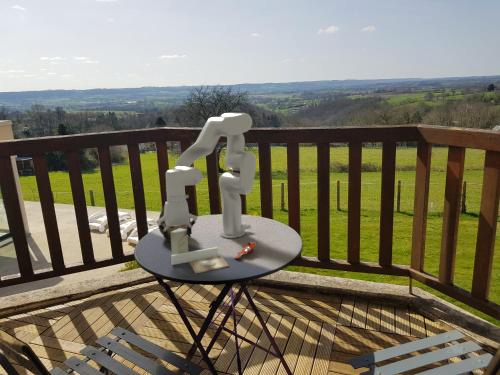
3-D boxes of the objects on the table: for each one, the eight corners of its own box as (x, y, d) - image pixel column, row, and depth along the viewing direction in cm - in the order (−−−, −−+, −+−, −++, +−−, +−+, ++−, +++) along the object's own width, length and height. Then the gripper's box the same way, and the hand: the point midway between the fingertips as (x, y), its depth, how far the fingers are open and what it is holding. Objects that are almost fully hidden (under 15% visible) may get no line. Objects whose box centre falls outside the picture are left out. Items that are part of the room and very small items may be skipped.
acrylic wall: (217, 255, 159) (216, 246, 158) (217, 256, 159) (217, 247, 158) (171, 264, 152) (170, 255, 151) (171, 265, 151) (171, 256, 150)
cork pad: (221, 257, 158) (221, 255, 157) (228, 266, 149) (228, 265, 148) (189, 263, 152) (189, 261, 152) (195, 273, 143) (195, 271, 143)
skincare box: (179, 260, 155) (177, 233, 152) (171, 258, 157) (169, 232, 154) (189, 255, 160) (187, 229, 157) (181, 253, 163) (179, 227, 160)
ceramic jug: (183, 245, 171) (178, 183, 163) (153, 242, 175) (148, 182, 167) (197, 233, 186) (194, 175, 179) (170, 230, 191) (166, 174, 183)
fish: (252, 237, 166) (262, 243, 159) (252, 247, 167) (262, 253, 160) (227, 243, 159) (237, 250, 152) (227, 254, 161) (237, 261, 153)
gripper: (194, 194, 159) (195, 232, 163) (153, 198, 152) (155, 237, 156) (198, 198, 152) (199, 237, 156) (156, 203, 146) (158, 243, 149)
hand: (177, 237), depth 156 cm, fingers open, 9 cm apart
